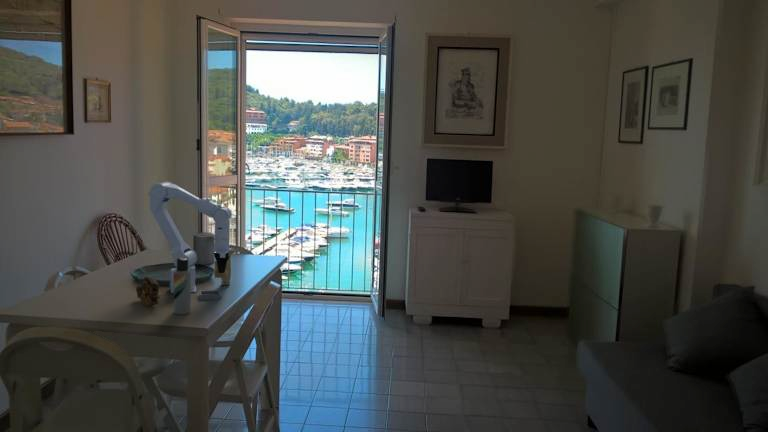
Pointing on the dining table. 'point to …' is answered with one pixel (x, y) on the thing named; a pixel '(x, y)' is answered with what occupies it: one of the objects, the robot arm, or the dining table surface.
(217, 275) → the tan brown block
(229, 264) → the handle
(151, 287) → the wooden carving
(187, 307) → the lotion bottle
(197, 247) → the pillar candle
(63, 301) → the dining table surface
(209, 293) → the end cap
